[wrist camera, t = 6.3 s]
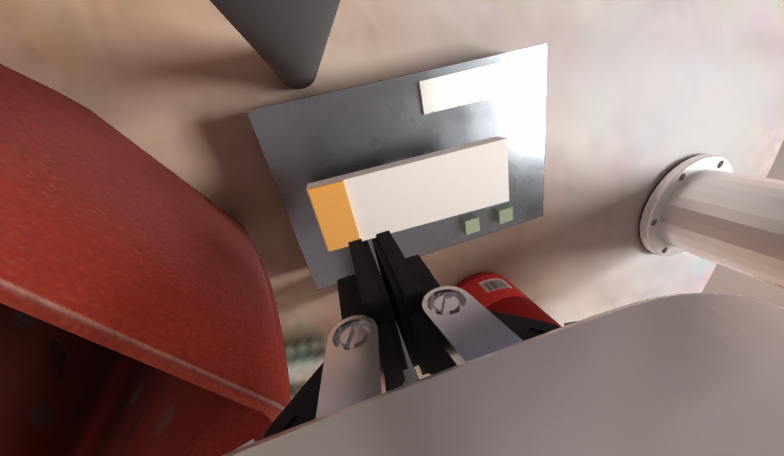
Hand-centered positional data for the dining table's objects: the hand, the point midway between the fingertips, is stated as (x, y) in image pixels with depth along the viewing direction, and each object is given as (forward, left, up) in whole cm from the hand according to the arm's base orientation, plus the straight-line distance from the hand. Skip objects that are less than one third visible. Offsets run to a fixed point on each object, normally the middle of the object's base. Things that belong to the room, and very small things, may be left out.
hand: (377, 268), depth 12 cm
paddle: (-4, 0, -7) cm, 8 cm away
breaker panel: (-6, 0, -14) cm, 15 cm away
